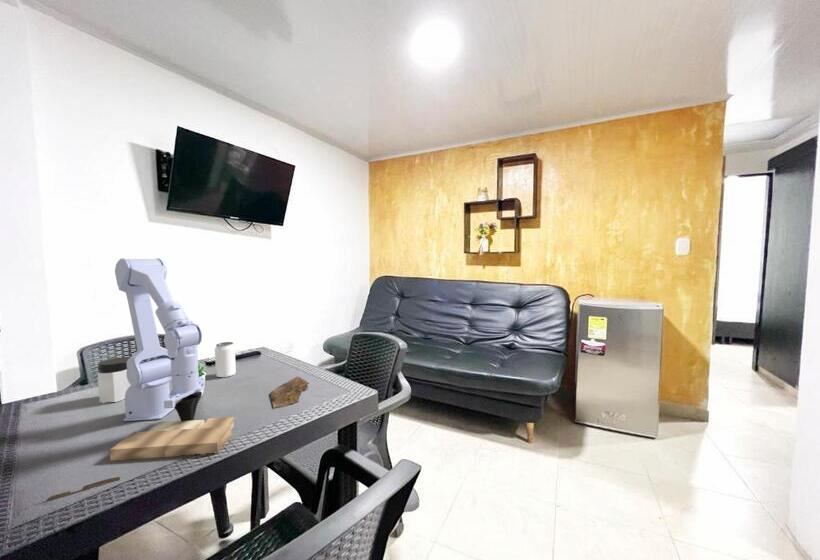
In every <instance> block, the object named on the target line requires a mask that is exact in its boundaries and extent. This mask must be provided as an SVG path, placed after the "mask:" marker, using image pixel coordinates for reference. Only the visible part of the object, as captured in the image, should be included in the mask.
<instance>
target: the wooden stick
mask: <svg viewBox="0 0 820 560" xmlns="http://www.w3.org/2000/svg"><path fill="white" fill-rule="evenodd" d="M119 481H121V477H120V476H116V477H112V478H111V477H110V478H107V479H103V480H99V481H96V482H92V483H89V484H86V485H84V486H83V487H82V489H79V490H75V491H72V492H71V490H69V491H66V492H63V493H62V492H61V493H58V494H55V495H51V496H49V497H48V498H47V499H46V500H45V501H42V502H39V503H37V504H34V505H33V506H38V505H41V504H44V503H48V502H52V501H54V500H59V499H62V498H66V497H69V496H72V495H74V494H78V493H82V492H85V491H88V490H89V489H90V490H92V489H91V488H93V489H95V488H94V487H96V488H99V487H103V486H107V485H108V484H114V483H115V482H119ZM106 484H107V485H106ZM98 486H99V487H98ZM90 490H89V491H90Z"/></svg>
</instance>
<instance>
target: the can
mask: <svg viewBox="0 0 820 560" xmlns="http://www.w3.org/2000/svg"><path fill="white" fill-rule="evenodd" d="M235 347H236V346H235V345H234V342H231V341H225V342H219V343H216V345H215V348H214V358H215V376H216V377H217V378H218V377H226V378H230V377H232V375H233V376H235V374H236V370H237V369H236V348H235ZM229 376H230V377H229Z"/></svg>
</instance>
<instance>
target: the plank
mask: <svg viewBox="0 0 820 560" xmlns="http://www.w3.org/2000/svg"><path fill="white" fill-rule="evenodd" d="M204 423H205V419H194V420H191V421H181V420H179V421H178V420H176V421H175V420H174V421H159V422H157V423H155V425H153V426H152V427H151V428H150V429H148V430H147V431H164V430H180V429H197V428H200V427H201V426H202V425H203V424H204Z"/></svg>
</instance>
